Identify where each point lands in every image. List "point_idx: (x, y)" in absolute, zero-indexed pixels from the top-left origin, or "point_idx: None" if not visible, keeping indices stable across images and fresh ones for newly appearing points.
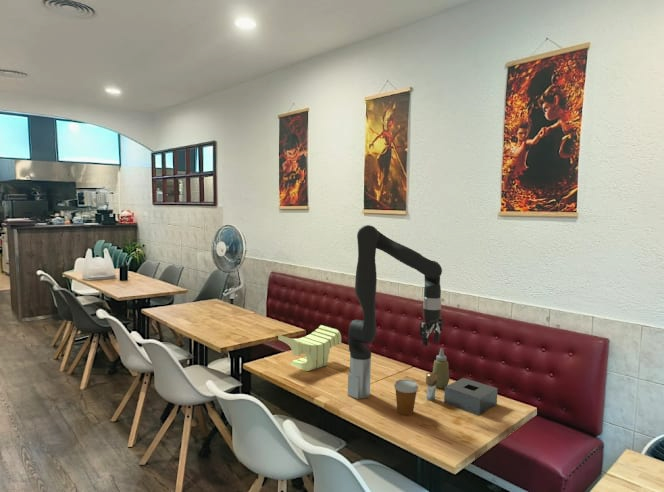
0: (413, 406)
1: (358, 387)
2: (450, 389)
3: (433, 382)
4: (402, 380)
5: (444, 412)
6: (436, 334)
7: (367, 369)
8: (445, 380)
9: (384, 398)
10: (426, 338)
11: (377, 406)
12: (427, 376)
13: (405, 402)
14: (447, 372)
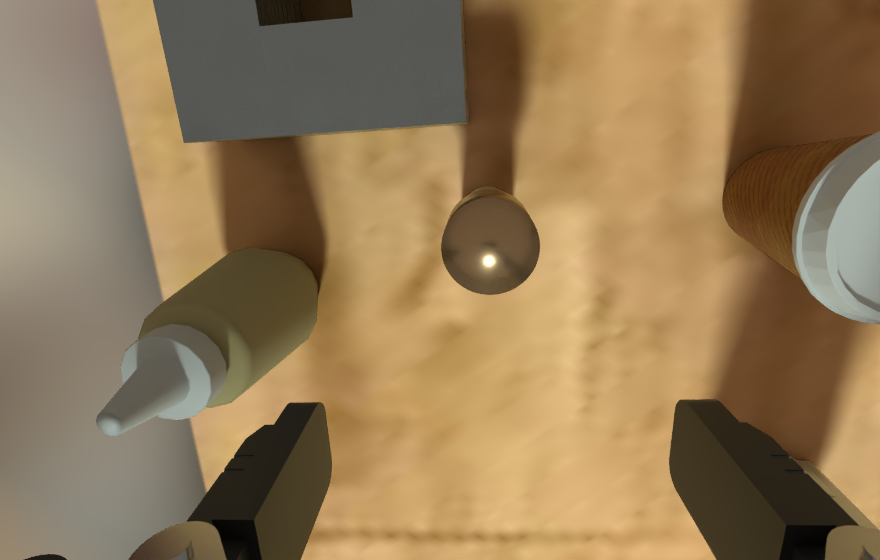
0: (799, 145)
1: (858, 509)
2: (463, 67)
3: (515, 200)
4: (863, 304)
5: (595, 30)
6: (270, 552)
7: None
8: (271, 255)
9: (689, 382)
10: (818, 533)
11: (815, 343)
12: (536, 257)
13: None
14: (224, 270)
